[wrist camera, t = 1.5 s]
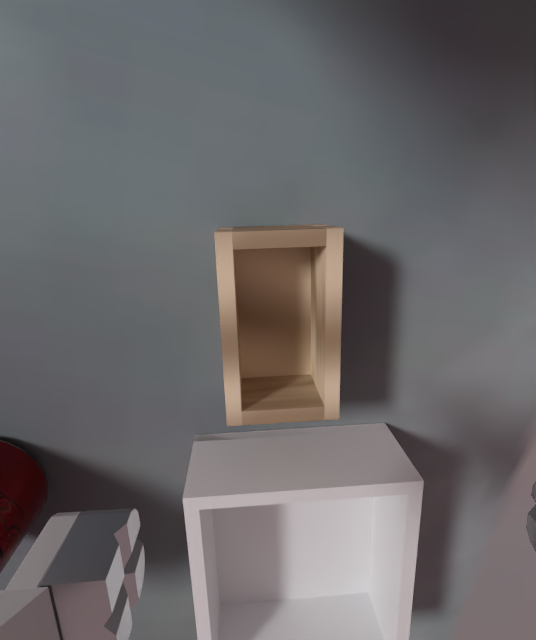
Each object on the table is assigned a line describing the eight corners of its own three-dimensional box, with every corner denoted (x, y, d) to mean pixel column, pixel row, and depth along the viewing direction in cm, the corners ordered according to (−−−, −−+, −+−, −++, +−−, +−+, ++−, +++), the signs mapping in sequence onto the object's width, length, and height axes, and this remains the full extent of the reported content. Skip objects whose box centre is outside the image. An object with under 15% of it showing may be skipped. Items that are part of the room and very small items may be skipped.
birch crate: (219, 227, 23) (214, 232, 18) (321, 224, 23) (343, 228, 18) (229, 385, 25) (227, 426, 21) (320, 379, 26) (339, 419, 21)
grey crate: (195, 434, 26) (182, 498, 20) (384, 422, 27) (423, 480, 21) (210, 604, 30) (203, 696, 25) (374, 589, 31) (405, 676, 25)
